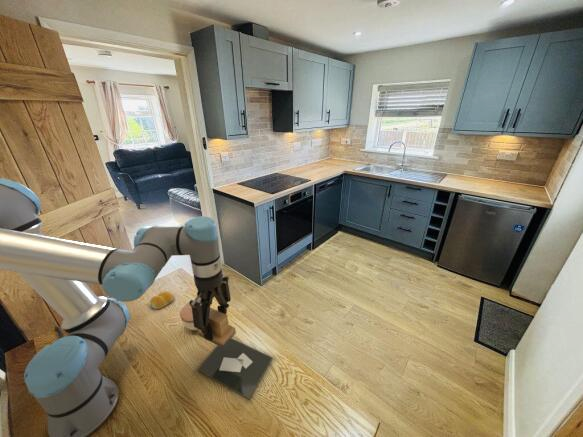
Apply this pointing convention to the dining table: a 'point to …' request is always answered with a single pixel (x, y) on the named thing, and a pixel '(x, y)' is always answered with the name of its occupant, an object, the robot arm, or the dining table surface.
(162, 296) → the bread roll
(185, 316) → the trinket box
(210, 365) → the slate board
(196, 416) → the dining table surface
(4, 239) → the robot arm
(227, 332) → the wooden stepped block
